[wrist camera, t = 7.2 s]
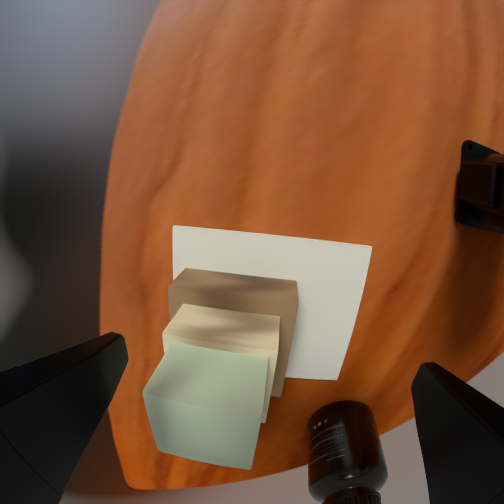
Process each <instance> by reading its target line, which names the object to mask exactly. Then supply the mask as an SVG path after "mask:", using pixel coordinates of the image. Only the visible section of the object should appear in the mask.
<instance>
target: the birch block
mask: <svg viewBox="0 0 504 504" xmlns="http://www.w3.org/2000/svg"><path fill="white" fill-rule="evenodd" d="M279 325H280V316H272V315H263V314H254V313H246V312H238V311H231V310H223V309H216V308H209V307H202V306H196V305H189V304H182V306H181V307H180V309H179V310H178V311H177V313H176V314H175V316H174V317H173V319H172V320H171V321H170V323H169V324H168V326H167V327H166V328H165V330H164V331H163V333H162V336H163V346H164V355H165V353H166V351H167V350H168V348H169V347H170V345H171V343H172V342H178V343H183V344H188V345H193V346H198V347H204V348H210V349H215V350H222V351H228V352H234V353H241V354H249V355H256V356H264V357H268V366H267V375H266V385H265V394H264V403H263V412H262V419H261V423H265V422H266V417H267V412H268V406H269V401H270V396H271V390H272V385H273V379H274V373H275V368H276V362H277V356H278V347H279Z"/></svg>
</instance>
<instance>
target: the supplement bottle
mask: <svg viewBox="0 0 504 504" xmlns="http://www.w3.org/2000/svg"><path fill="white" fill-rule="evenodd" d="M308 475H309V476H308V477H309V478H308V484H309V485H308V486H309V492H310V494H311V496H312V497H313V498H314V499H315V500H317V501H319V502H321V503H322V504H381V495H380V493H379V492H377V491H379V490H380V489H381V488H382V487H383V485H384V484H385V482H386V480H387V476H388V472H387V467H386V462H385V459H384V454H383V450H382V446H381V442H380V438H379V434H378V430H377V426H376V423H375V419H374V416H373V413H372V411H371V409H370V408H369V407H368V406H367V405H366V404H364V403H362V402H358V401H352V400H346V401H338V402H334V403H331V404H328V405H326V406H324V407H322V408H321V409H319V410H318V411H317V412H315V413H314V414H313V416H312V417H311V418H310V420H309V423H308Z"/></svg>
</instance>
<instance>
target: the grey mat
mask: <svg viewBox="0 0 504 504" xmlns="http://www.w3.org/2000/svg"><path fill="white" fill-rule="evenodd" d="M371 252H372V246H367V245H359V244H350V243H342V242H334V241H325V240H316V239H307V238H298V237H289V236H280V235H270V234H261V233H251V232H241V231H231V230H221V229H210V228H200V227H189V226H177V225H174V226H173V281H174V280H175V278H176V277H177V276H178V275H179V274H180V273H181V272H182V271H183V270H184V269H185V268H192V269H200V270H208V271H216V272H224V273H233V274H241V275H250V276H259V277H268V278H277V279H286V280H296V281H297V289H298V299H299V306H298V312H297V317H296V323H295V329H294V334H293V340H292V345H291V350H290V355H289V360H288V365H287V370H286V375H285V377H291V378H304V379H322V380H337V379H338V376H339V373H340V370H341V367H342V364H343V361H344V358H345V354H346V351H347V348H348V345H349V341H350V338H351V335H352V331H353V328H354V324H355V320H356V317H357V313H358V309H359V305H360V301H361V297H362V293H363V289H364V285H365V280H366V276H367V271H368V267H369V262H370V257H371Z"/></svg>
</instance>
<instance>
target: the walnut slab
mask: <svg viewBox="0 0 504 504" xmlns="http://www.w3.org/2000/svg"><path fill="white" fill-rule="evenodd" d="M168 303H169V319H170V321H171V320H172V319H173V317H174V316H175V314H176V313H177V311H178V310H179V309H180V307H181V306H182V304H189V305H196V306H202V307H209V308H216V309H223V310H231V311H238V312H246V313H254V314H263V315H272V316H280V325H279V347H278V356H277V362H276V368H275V373H274V379H273V385H272V390H271V396H273V397H281V394H282V390H283V385H284V380H285V375H286V370H287V365H288V360H289V355H290V350H291V345H292V340H293V334H294V329H295V323H296V317H297V312H298V306H299V299H298V289H297V281H296V280H286V279H277V278H268V277H259V276H250V275H241V274H233V273H224V272H216V271H208V270H200V269H192V268H185V269H184V270H183V271H182V272H181V273H180V274H179V275H178V276H177V277H176V278H175V280H174V281H173V282H172V283H171V284H170V285H169V286H168Z"/></svg>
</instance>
